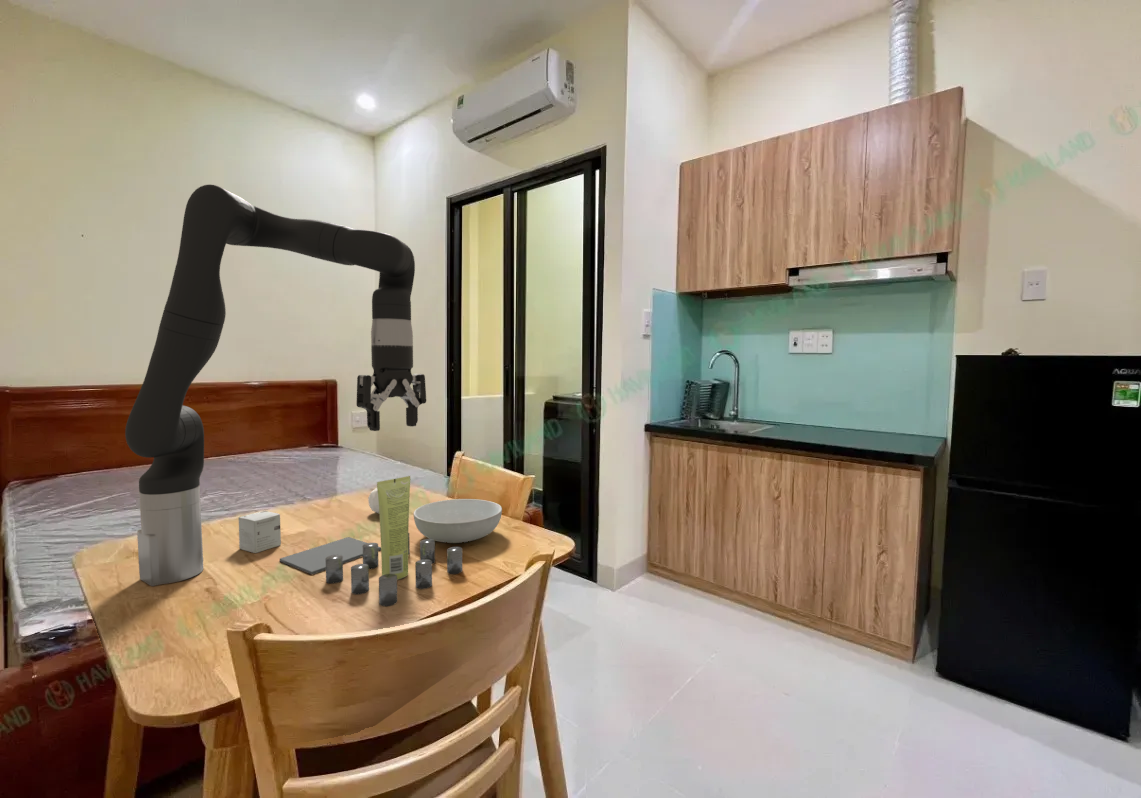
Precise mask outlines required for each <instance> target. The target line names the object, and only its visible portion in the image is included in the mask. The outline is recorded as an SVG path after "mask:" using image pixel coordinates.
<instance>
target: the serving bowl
mask: <svg viewBox="0 0 1141 798" xmlns="http://www.w3.org/2000/svg"><path fill="white" fill-rule="evenodd" d="M502 512H503V508H502V506H501V505H500V504H499V503H496V502H493V501H490V500H485V499H478V498H476V499H475V498H455V499H453V498H452V499H443V500H438V501H434V502H430V503H425V504H423V505H421V506H418V507H417V508H416V509H415V510H414V511H413V519H414V523H415V526H416V529H417V530H418V532H419V533H420V534H421V535H423V536H424V537H425V538H426V539H433V540H435V542H440V543H446V542H447V543H449V544H462V542H464V543H468V541H469V542H471V541H475V540H476V541H477V540H479V539H482V538H484V537H486V536H488V535H490V534H491V533H492V532H493V531H494V530H495V529H496V528H497V527H498V525H499V524H500V521H501V519H502V514H503V513H502Z"/></svg>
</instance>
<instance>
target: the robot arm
mask: <svg viewBox="0 0 1141 798" xmlns="http://www.w3.org/2000/svg"><path fill="white" fill-rule="evenodd" d="M226 245H230V246H237V247H238V246H239V247H240V246H241V247H256V248H269V249H270V248H271V249H275V250H282V251H288V252H293V253H297V254H300V255H303V256H307V257H311V258H315V259H318V260H322V261H325V262H331V263H336V264H339V265H343V266H349V267H351V266H358V267H362V268H366V269H369V270H373V271H376V272H378V273H379V276H378V277H379V279H378V288H376V289H375V290H374V291H373V293H372V296H371V315H372V317H371V321H372V322H371V331H370V339H371V341H370V342H371V343H370V344H371V345H370V347H371V348H370V350H371V368H372V369H373V372H372V375H370V374H358V376H357V380H356V381H357V382H356V383H357V384H356V406H357V408H361V409H364V410H366V421H367V422H366V426H367V428H369V431H372V432H378V431H380V429H381V423H380V422H381V421H380V419H381V418H380V417H381V415H380V414H381V413H380V410H379V409H380V408H381V406H382V404H383V403H384V402H386V400H387V399H388V398H395V397H397V398H398V397H399V398H400V399H402V400H403V402H404V403H405V405H406V406H407V407H405V420H406V423H405V424H406V426H407V427H416V426H417V424H418V420H419V418H418V416H419V413H418V408H419V406H420V405H422V404H426V403H427V389H426V376H425V374H423V373H413V374H412V369H413V367H414V336H413V326H412V302H411V295H412V291H413V288H414V287H413V285H414V280H415V271H416V270H415V269H416V264H415V261H416V260H415V256H414V254H413V250H412V249H411V248H410V247H409V246H408V245H407V244H406V243H404V242H403V241H401V240H400V239H399V238H397V237H396V236H395V235H392V234H389V233H385V232H381V231H377V230H369V229H368V230H366V229H358V228H357V229H356V228H352V227H349V226H346V225H341V224H337V223H333V222H329V221H325V220H324V221H323V220H318V219H310V218H308V219H307V218H290V217H286V216H283V215H282V216H281V215H278V214H275V213H272V212H270V211H267V210H265V209H263V208H260V207H258V206H256V205H253V203H252V204H251V203H249V201H247V200H246V199H244V198H242V197H241V196H238V195H237V194H235V193H233V192H231V191H229V190H227V189H225V188H224V187H222V186H218V185H217V184H204V185H201V186H200V187H197V188H196V189H194V191H193V192H192V193H191V195H190V197H189V198H188V200H187V202H186V205H185V210H184V215H183V221H182V229H181V234H180V242H179V250H178V254H177V260H176V264H175V268H174V272H173V276H172V281H171V284H170V288H169V292H168V297H167V299H166V302H165V304H164V305H165V306H164V308H163V312H162V315H161V316H162V317H161V319H160V322H159V327H158V330H157V335H156V340H155V344H154V347H153V350H152V353H151V357H150V359H149V363H148V367H147V370H146V373H145V376H144V379H143V382H142V384H141V387H140V389H139V392H138V394H137V397H136V399H135V401H134V404H133V406H132V408H131V411H130V414H129V415H128V418H127V422H126V425H125V429H124V431H125V432H124V433H125V434H124V435H125V441H126V444H127V446H128V448H129V449H130V451H132V452H133V453H134V454H135V455H137V456H138V457H141V458H146V459H147V458H148V459H149V458H153V461H152V463H151V464H150V467H149V468H148V469H147V470H146V471H145V472H144V473H143V474H142V475H141V476H140V478H139V479H138V491H139V496H138V497H139V510H140V512H139V513H140V514H139V515H140V528H141V529H139V530H137V532H136V533H137V534H136V535H137V551H138V554H137V555H138V569H139V570H138V571H139V572H138V574H139V580H141V581H142V582H143V583H146V584H147V585H148V586H151V587H155V586H159V585H163V584H165V585H166V584H171V583H176V582H181V581H185V580H188V579H190V578H193V577H195V576H197V575H199V574H200V573H202V572H203V571H204V551H203V550H204V549H203V530H202V529H203V528H202V527H203V526H202V506H201V487H200V485H201V483H200V479H201V478H200V477H201V475H202V472H203V470H204V465H205V429H204V424H203V422H202V418H201V417H200V415H199V414H198V413H197V411H195V410H194V409H193V408H191V407H189V406H186V405H184V401H185V398H186V395H187V392H188V390H189V388H190V386H191V384H192V382H193V381H194V380H195V379H196V377H197V376H198V375H199V374H200V372H201V371H202V370H203V368H204V367H205V366H206V365H207V363H208V362H209V360H210V359H211V357H212V356H213V355H214V353H215V351H216V350H217V347H218V345H219V342H220V339H221V335H222V331H223V328H224V324H225V322H226V321H225V320H226V315H227V313H226V311H227V310H226V303H225V297H224V293H223V287H222V282H221V276H220V275H221V273H220V270H221V264H222V260H223V259H222V258H223V255H224V252H225V251H224V250H225V248H226ZM411 385H412V386H411ZM372 386H374V388H373V390H372Z"/></svg>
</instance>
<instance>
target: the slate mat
mask: <svg viewBox="0 0 1141 798" xmlns="http://www.w3.org/2000/svg"><path fill="white" fill-rule="evenodd" d="M366 543H367V542H365V541H363V540H360V539H356V538H354V537H353V538H352V537H350V536H347V537H344V538H341V539H337V540H334V541H332V542H328V543H325V544H322V545H319V546H315V547H312V548H308V549H305V550H303V551H299V552H297V553H293V554H290V555H286V556H284V557H280V558H279V562H280V563H282V564H285V565H288V566H289V567H292V568H294V569H298V570H300V571H302V572H305V573H307V574H309V575H315V574H318V573H321V572H324V571H326V560H325V559H326V557H328V556H331V555H342V556H343V564H346V563H349V562H351V561H355V560H357V559H360V558H363V547H362V546H363V545H364V544H366ZM379 551H381V546H378V552H379Z"/></svg>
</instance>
